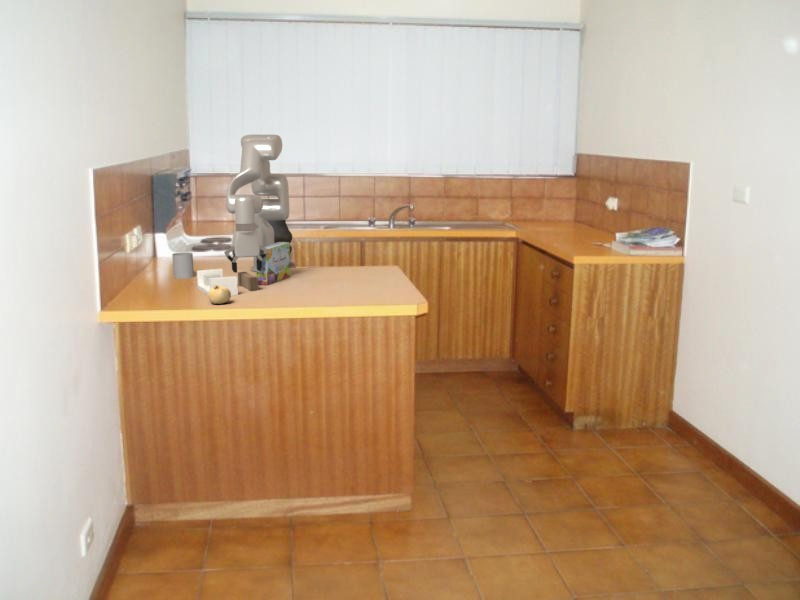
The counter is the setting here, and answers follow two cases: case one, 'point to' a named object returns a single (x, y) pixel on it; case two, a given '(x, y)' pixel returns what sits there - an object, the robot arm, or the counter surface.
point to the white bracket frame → (215, 280)
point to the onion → (219, 294)
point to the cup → (183, 265)
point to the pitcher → (281, 231)
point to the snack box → (274, 263)
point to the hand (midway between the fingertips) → (247, 271)
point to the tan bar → (248, 281)
